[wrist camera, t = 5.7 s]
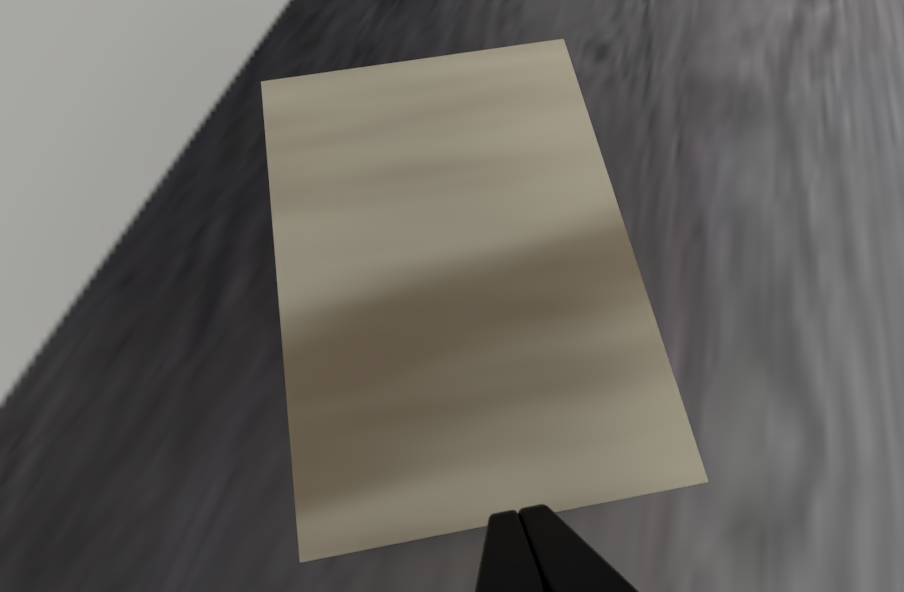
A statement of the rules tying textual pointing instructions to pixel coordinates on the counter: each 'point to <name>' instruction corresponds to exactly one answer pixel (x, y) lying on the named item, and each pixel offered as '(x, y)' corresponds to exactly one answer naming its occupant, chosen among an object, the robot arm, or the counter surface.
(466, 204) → the birch block
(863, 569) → the counter surface
